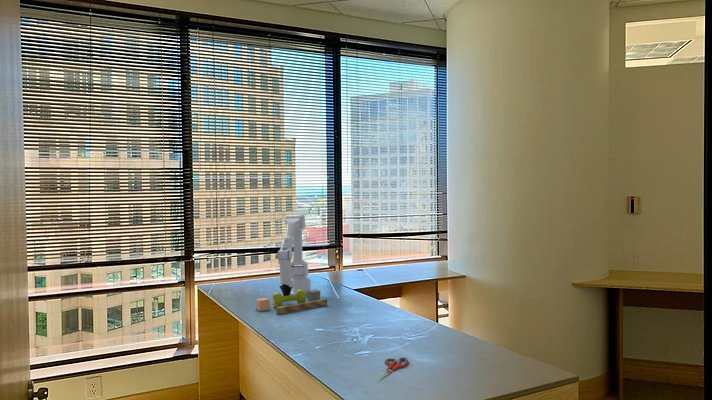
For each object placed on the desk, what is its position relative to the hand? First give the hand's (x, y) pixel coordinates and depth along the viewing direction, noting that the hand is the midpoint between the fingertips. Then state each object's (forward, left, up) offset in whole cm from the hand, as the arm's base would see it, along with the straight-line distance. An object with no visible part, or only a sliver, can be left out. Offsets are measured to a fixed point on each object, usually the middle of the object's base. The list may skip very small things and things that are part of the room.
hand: (286, 299), depth 251 cm
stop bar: (0, +18, -2) cm, 18 cm away
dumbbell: (+1, +5, -2) cm, 6 cm away
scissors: (+14, +108, -3) cm, 109 cm away
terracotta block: (+14, +4, -2) cm, 15 cm away
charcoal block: (-14, +4, -2) cm, 14 cm away
